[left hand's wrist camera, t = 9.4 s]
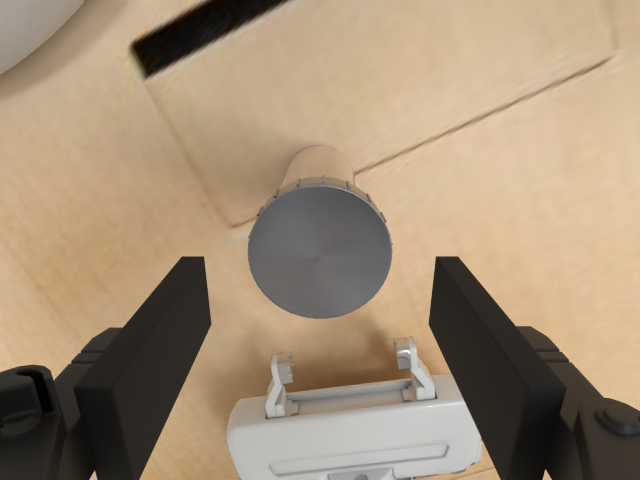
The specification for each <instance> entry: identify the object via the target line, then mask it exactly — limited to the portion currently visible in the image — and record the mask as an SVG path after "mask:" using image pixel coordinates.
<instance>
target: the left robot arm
mask: <svg viewBox="0 0 640 480" xmlns="http://www.w3.org/2000/svg"><path fill="white" fill-rule="evenodd" d="M210 326H211V317H210V308H209V299H208V289H207V280H206V271H205V262H204V257H181V258H180V260H179V261H178V262H177V263H176V264H175V266H174V267H173V268H172V269H171V271H170V272H169V273H168V274H167V275H166V277H165V278H164V279H163V280H162V281H161V283H160V284H159V285H158V286H157V287H156V289H155V290H154V291H153V292H152V293H151V295H150V296H149V297H148V298H147V299H146V301H145V302H144V303H143V304H142V305H141V307H140V308H139V309H138V310H137V312H136V313H135V314H134V315H133V316H132V318H131V319H130V320H129V321H128V322H127V324H126V325H125V326H124V327H123V328H108V329H107V330H105V331H104V332H102V333H100V334H99V335H97V336H96V337H94V338H92V339H91V341H90V342H89V343H88V344H87V345H86V346H85V347H84V348H83V349H82V350H81V353H79V354H78V355H77V356H76V357H75V358H74V359H73V360H72V363H71V364H69V365H68V366H67V367H66V368H65V369H64V370H63V371H62V372H61V373H60V374H59V375H58V377H57V378H56V379H55V380H54V381H53V377H52V374H51V371H50V370H49V369H48V368H46V367H45V366H39V365H27V366H19V367H16V368H12V369H9V370H6V371H3V372H1V373H0V480H89V479H90V477H91V476H92V474H93V472H94V471H95V472H96V475H97V479H98V480H139V479H140V477H141V475H142V473H143V470H144V468H145V466H146V464H147V462H148V460H149V457H150V455H151V453H152V451H153V449H154V447H155V445H156V442H157V440H158V438H159V436H160V434H161V432H162V429H163V427H164V425H165V423H166V421H167V419H168V417H169V414H170V412H171V410H172V408H173V406H174V404H175V401H176V399H177V397H178V395H179V393H180V391H181V389H182V386H183V384H184V382H185V380H186V378H187V376H188V373H189V371H190V369H191V367H192V365H193V363H194V361H195V358H196V356H197V354H198V352H199V350H200V348H201V345H202V343H203V341H204V339H205V337H206V335H207V333H208V330H209V328H210ZM429 326H430V328H431V330H432V333H433V335H434V337H435V339H436V341H437V343H438V345H439V348H440V350H441V352H442V354H443V356H444V358H445V361H446V363H447V365H448V367H449V369H450V371H451V373H452V376H453V378H454V380H455V382H456V384H457V386H458V389H459V391H460V393H461V395H462V397H463V399H464V401H465V404H466V406H467V408H468V410H469V412H470V414H471V417H472V419H473V421H474V423H475V425H476V427H477V429H478V432H479V434H480V436H481V438H482V440H483V442H484V445H485V447H486V449H487V451H488V453H489V455H490V457H491V460H492V462H493V464H494V466H495V468H496V470H497V473H498V475H499V477H500V479H501V480H542V479H543V475H544V472H545V469H546V470H547V472H548V474H549V475H550V477H551V479H552V480H640V411H638V410H637V409H635V408H633V407H631V406H629V405H627V404H625V403H622V402H619V401H616V400H614V399H610V398H604V397H603V396H602V395H601V394H600V393H599V392H598V391H597V390H596V389H595V388H594V387H593V385H592V384H591V383H590V382H589V381H588V380H587V379H586V378H585V377H584V376H583V375H582V374H581V372H580V371H579V370H578V369H577V368H576V367H575V366H574V365H573V364H572V363H569V359H568V358H567V357H566V356H565V355H564V354H563V353H562V352H559V349H558V348H557V346H556V345H555V344H554V343H553V342H552V341H551V340H550V339H549V338H548V337H547V336H545V335H544V334H542V333H540V332H539V331H537V330H536V329H534V328H532V327H531V326H515V325H514V324H513V322H512V321H511V320H510V319H509V318H508V316H507V315H506V314H505V313H504V312H503V310H502V309H501V308H500V307H499V305H498V304H497V303H496V302H495V301H494V299H493V298H492V297H491V296H490V295H489V293H488V292H487V291H486V290H485V289H484V287H483V286H482V285H481V284H480V283H479V281H478V280H477V279H476V278H475V277H474V275H473V274H472V273H471V272H470V271H469V269H468V268H467V267H466V266H465V264H464V263H463V262H462V261H461V260H460V258H459V257H436V262H435V271H434V280H433V289H432V299H431V308H430V317H429Z"/></svg>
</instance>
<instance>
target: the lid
mask: <svg viewBox="0 0 640 480" xmlns="http://www.w3.org/2000/svg"><path fill="white" fill-rule="evenodd" d="M257 216H258V218H257V220H256V222H255V224H254V226H253V228H252V230H251V232H250V234H249V237H248V238H249V243H248V261H249V266H250V270H251V273H252V275H253V278H254V280H255V281H256V283H257V285H258V287H259V288H260V289H261V291H262V292H263V293H264V294H265V295H266V296H267V298H268V299H270V300H271V301H272V302H273V303H274V304H276V305H277V306H279V307H280V308H282V309H284V310H286V311H288V312H290V313H292V314H295V315H298V316H302V317H307V318H316V319H321V318H333V317H338V316H342V315H345V314H347V313H350V312H352V311H354V310H356V309H358V308H360V307H361V306H363V305H364V304H366V303H367V302H368V301H369V300H370V299H371V298H373V297H374V295H375V294H376V293H377V292H378V291H379V289H380V288H381V286H382V285H383V283H384V281H385V280H386V278H387V275H388V272H389V270H390V266H391V261H392V242H391V238H390V234H389V231H388V228H387V226H386V224H385V223H386V222H387V221H386V219H385V217H384V215H383V213H382V212H379V210H378V208H377V206H376V205H375V204H374V202H373V201H372V200H371V198H370V195H369V194H368V193H367V194H365V193H364V192H363V191H362V190H360V189H359V188H358V187H356V186H354V185H352V184H350V183H349V181H348V180H347V181H343V180H340V179H336V178H331V177H325V175H323V176H322V177H309V178H304V179H300V178H298V180H297V181H294V182H292V183H290V184H288V185H286V186H284V187H283V188H281V189H280V190H279V189H277V190H276V192H275V194H273V195H272V197H271V198H270V199H269V200H268V201H267V202H266V204H265V205H264V206H261V208H260V210H259V212H258V214H257Z"/></svg>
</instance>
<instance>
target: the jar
mask: <svg viewBox="0 0 640 480" xmlns="http://www.w3.org/2000/svg"><path fill="white" fill-rule="evenodd" d="M323 175H325V177H331V178H336V179H340V180H343V181H347V180H348V181H349V183H350V184H352V185H354V186H356V187H358V188H359V189H360V187H359V184H358V182H357V180H356V177H355V175H354V172H353V170H352V167H351V165H350V163H349V161H348V160H347V158H346V157H345V156H344V155H343V154H342V153H341V152H339V151H338V150H336V149H334V148H332V147H329V146H323V145H317V146H311V147H308V148H306V149H304V150H302V151H301V152H299V153H298V154H297V155H296V156H295V157H294V158H293V160H292V161H291V163H290V165H289V167H288V170H287V172H286V174H285V177H284V179H283V182H282V184H281V187H280V189H281V188H283V187H284V186H286V185H288V184H290V183H292V182H294V181H297V180H298V178H300V179H304V178H309V177H322V176H323ZM280 189H279V190H280ZM360 190H361V189H360Z"/></svg>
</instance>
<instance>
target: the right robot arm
mask: <svg viewBox="0 0 640 480" xmlns="http://www.w3.org/2000/svg"><path fill="white" fill-rule="evenodd" d="M393 344H394V347H395V348H394V353H395V358H396V361H397V365H398V369H399V370H403V369H410V371H411V378H405V379H397V380H389V381H381V382H372V383H364V384H356V385H348V386H340V387H331V388H323V389H315V390H307V391H298V392H290V393H286V391H285V387H284V386H283V384H289V383H293V380H294V376H293V374H294V369H295V368H294V363H293V361H292V353H291V352H286V353H279V354H272V359H271V372H272V376H273V377H272V379H271V382H270V384H269V386H268V390H267V395H266V396H257V397H248V398H242V399H240V400H239V401H238V402H237V403H236V405H235V406H234V408H233V410H232V412H231V415H230V418H229V421H228V425H227V431H226V442H227V446H228V449H229V453H230V455H231V458H232V461H233V463H234V466H235V468H236V471H237V473H238V475H239V477H240V479H241V480H413V479H414V478H421V477H429V476H435V475H438V474H444V473H450V474H457V473H462V472H464V471H466V468H467V467H469V466H471V465H473V464H474V463H476V462H479V461H480V460H481V458H482V438H481V436H480V434H479V432H478V429H477V427H476V425H475V423H474V421H473V419H472V417H471V414H470V412H469V410H468V408H467V406H466V404H465V401H464V399H463V397H462V395H461V393H460V391H459V389H458V386H457V384H456V382H455V380H454V378H453V376H452V373H446V374H438V375H430V373H429V370H428V368H427V367H426V366H425V364H424V363H423V362H422V361H421V360H420V359H419V358H418V356H417V350H416V346H415V343H414V340H413V337H406V338H398V339H393Z"/></svg>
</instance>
